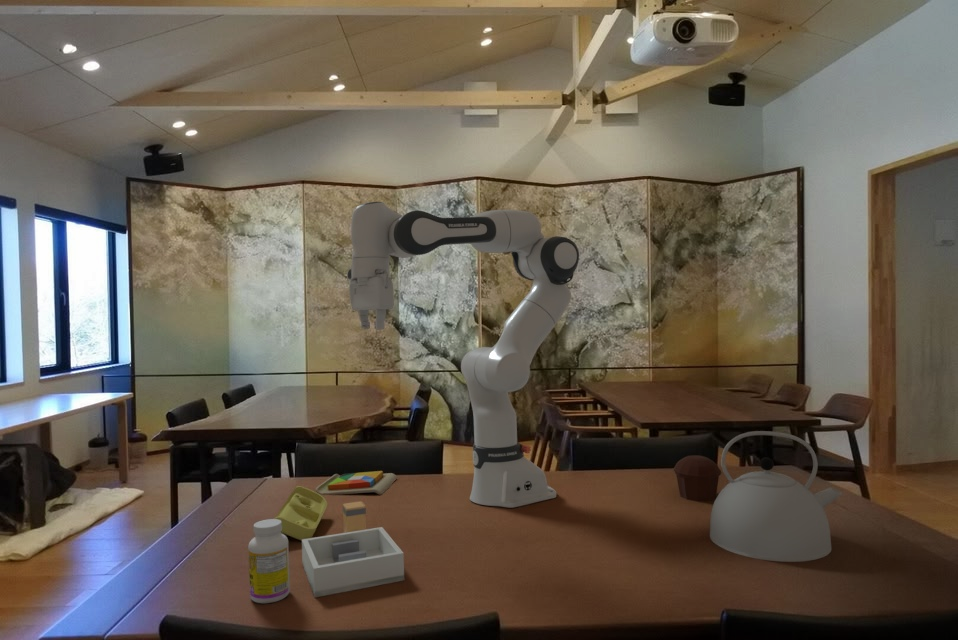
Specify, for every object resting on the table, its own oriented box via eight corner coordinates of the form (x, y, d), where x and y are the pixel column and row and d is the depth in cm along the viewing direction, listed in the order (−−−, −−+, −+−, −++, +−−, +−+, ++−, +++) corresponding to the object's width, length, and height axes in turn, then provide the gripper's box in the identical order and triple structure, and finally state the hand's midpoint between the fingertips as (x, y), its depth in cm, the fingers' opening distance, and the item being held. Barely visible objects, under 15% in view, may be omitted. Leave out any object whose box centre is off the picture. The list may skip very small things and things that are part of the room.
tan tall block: (362, 537, 142) (361, 501, 141) (366, 543, 138) (365, 506, 138) (343, 540, 140) (342, 503, 140) (347, 546, 136) (346, 508, 136)
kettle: (833, 528, 139) (830, 423, 139) (856, 569, 118) (853, 445, 118) (709, 519, 148) (706, 420, 147) (710, 555, 126) (707, 440, 126)
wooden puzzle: (336, 479, 194) (336, 467, 194) (398, 480, 192) (397, 468, 192) (313, 496, 177) (313, 483, 177) (381, 497, 174) (380, 484, 174)
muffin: (731, 497, 163) (730, 457, 163) (703, 505, 157) (702, 464, 157) (692, 487, 173) (691, 450, 173) (664, 495, 167) (663, 456, 167)
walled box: (382, 551, 133) (382, 526, 133) (404, 580, 118) (403, 553, 118) (302, 565, 127) (301, 539, 127) (314, 597, 112) (313, 568, 112)
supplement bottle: (255, 589, 116) (253, 517, 116) (293, 587, 117) (291, 515, 117) (245, 606, 110) (242, 530, 109) (285, 603, 110) (283, 528, 110)
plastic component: (314, 531, 140) (270, 513, 139) (300, 562, 140) (257, 544, 139) (331, 498, 159) (293, 482, 159) (319, 525, 160) (281, 509, 159)
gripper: (400, 268, 146) (401, 329, 147) (368, 273, 164) (370, 328, 164) (373, 267, 143) (375, 330, 143) (344, 273, 161) (346, 329, 161)
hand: (372, 329), depth 154 cm, fingers open, 8 cm apart
